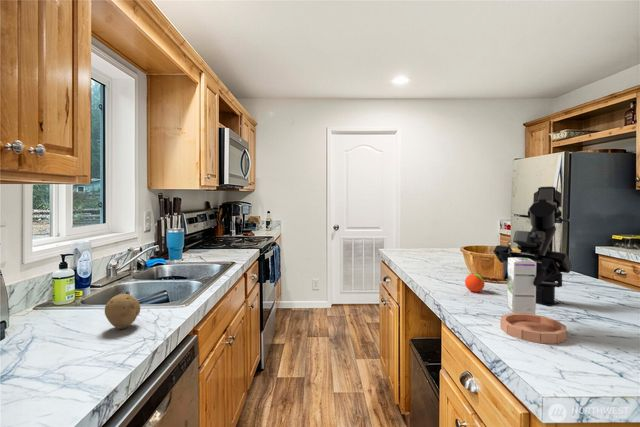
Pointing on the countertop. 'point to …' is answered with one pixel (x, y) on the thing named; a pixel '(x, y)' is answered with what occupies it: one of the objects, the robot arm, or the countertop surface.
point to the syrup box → (521, 285)
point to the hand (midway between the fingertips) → (518, 281)
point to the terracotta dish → (534, 328)
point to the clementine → (474, 282)
